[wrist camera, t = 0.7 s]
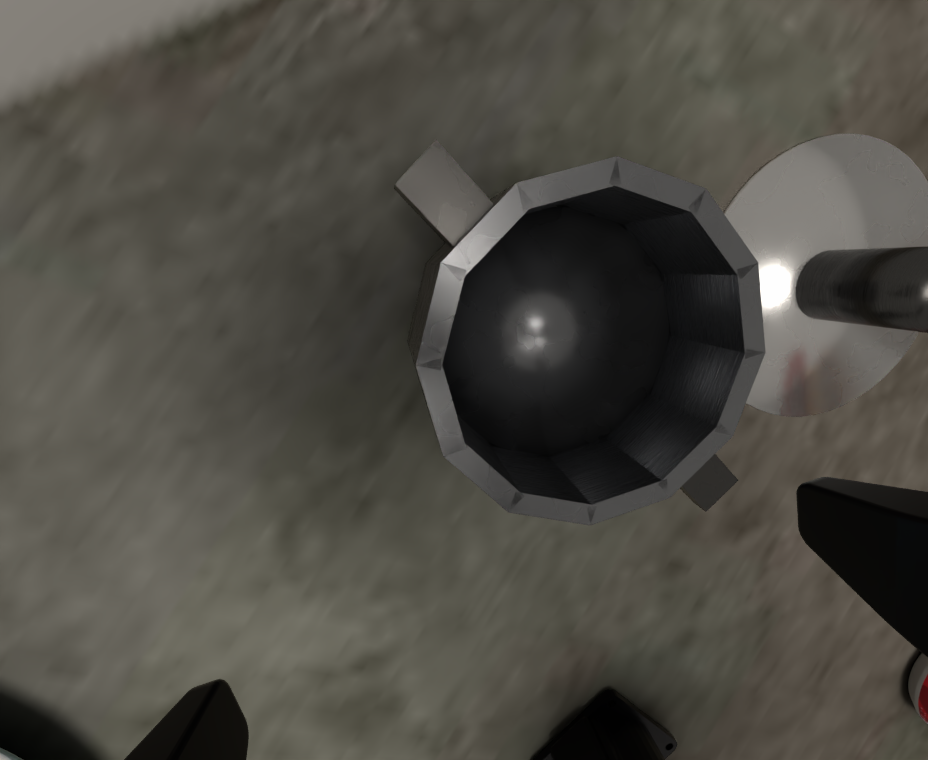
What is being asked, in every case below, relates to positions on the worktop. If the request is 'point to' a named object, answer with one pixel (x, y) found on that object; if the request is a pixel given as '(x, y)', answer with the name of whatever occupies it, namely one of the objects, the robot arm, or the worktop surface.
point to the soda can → (919, 686)
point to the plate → (8, 755)
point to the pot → (583, 335)
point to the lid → (834, 268)
